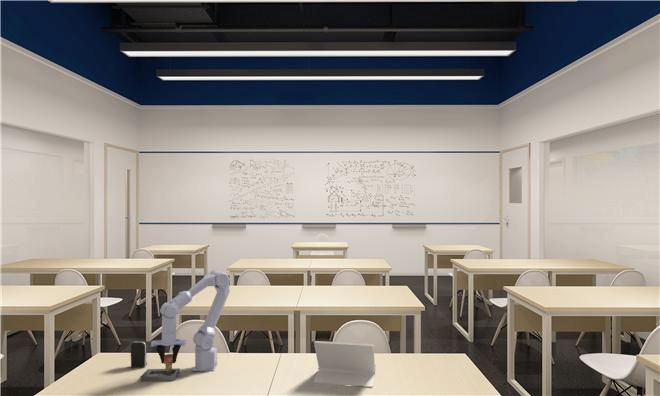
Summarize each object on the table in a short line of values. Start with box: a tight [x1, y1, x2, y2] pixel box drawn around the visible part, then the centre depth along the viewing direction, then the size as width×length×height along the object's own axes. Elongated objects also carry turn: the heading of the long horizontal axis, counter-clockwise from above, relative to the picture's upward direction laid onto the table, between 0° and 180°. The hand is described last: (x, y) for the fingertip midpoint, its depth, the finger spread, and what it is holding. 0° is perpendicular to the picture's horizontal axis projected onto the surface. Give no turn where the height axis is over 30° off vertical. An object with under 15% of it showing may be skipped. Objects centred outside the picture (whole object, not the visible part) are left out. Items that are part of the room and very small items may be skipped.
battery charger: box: [130, 340, 149, 368], centre depth 192 cm, size 7×4×11 cm, turn 85°
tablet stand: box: [313, 340, 377, 388], centre depth 180 cm, size 18×25×17 cm
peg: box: [163, 353, 174, 372], centre depth 180 cm, size 4×4×6 cm
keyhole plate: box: [139, 367, 181, 383], centre depth 179 cm, size 14×8×2 cm, turn 93°
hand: (168, 362), depth 179 cm, fingers closed on peg, 4 cm apart
